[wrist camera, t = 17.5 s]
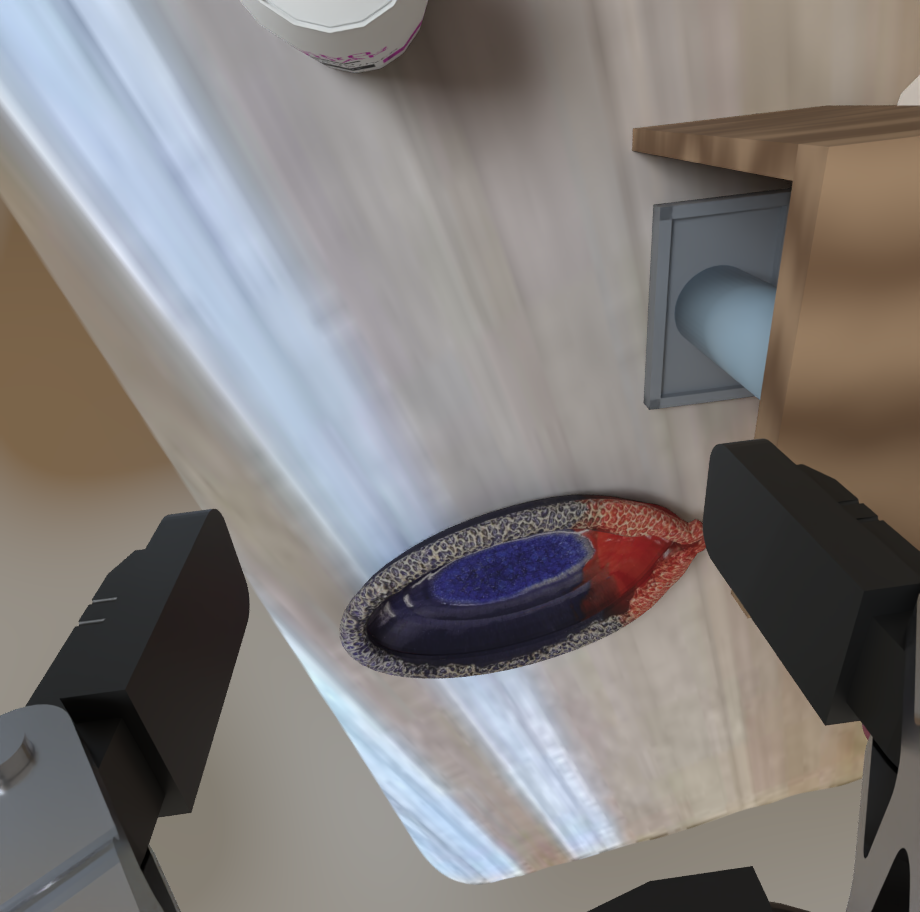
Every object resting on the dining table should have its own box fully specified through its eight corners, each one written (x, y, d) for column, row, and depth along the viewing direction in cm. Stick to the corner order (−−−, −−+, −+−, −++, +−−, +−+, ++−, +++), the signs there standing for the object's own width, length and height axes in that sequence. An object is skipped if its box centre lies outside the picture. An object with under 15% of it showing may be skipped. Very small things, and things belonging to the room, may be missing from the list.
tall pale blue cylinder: (677, 270, 42) (770, 325, 31) (760, 260, 42) (880, 312, 31) (671, 349, 44) (755, 425, 34) (748, 340, 44) (855, 412, 34)
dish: (310, 546, 51) (302, 587, 47) (679, 439, 49) (706, 472, 45) (375, 671, 59) (374, 716, 54) (697, 583, 57) (722, 623, 52)
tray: (653, 204, 40) (660, 207, 39) (791, 188, 40) (801, 190, 39) (643, 402, 47) (649, 409, 46) (761, 387, 47) (769, 394, 46)
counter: (632, 128, 38) (828, 147, 20) (827, 105, 38) (1181, 104, 21) (623, 434, 48) (747, 618, 31) (775, 415, 48) (983, 585, 31)
